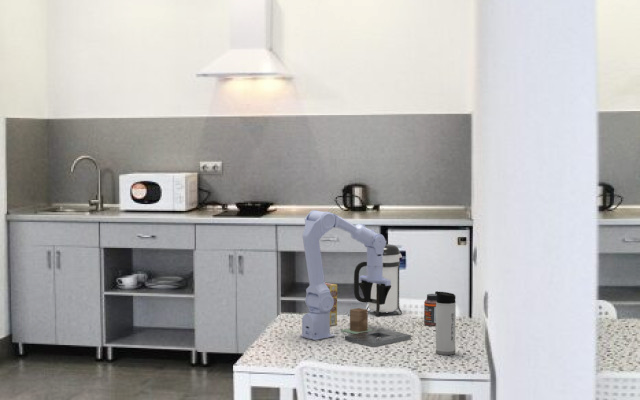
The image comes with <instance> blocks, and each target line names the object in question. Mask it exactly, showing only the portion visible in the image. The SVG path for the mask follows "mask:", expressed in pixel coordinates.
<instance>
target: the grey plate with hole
mask: <svg viewBox="0 0 640 400" xmlns="http://www.w3.org/2000/svg"><path fill="white" fill-rule="evenodd" d="M411 335H412V334H408V333H403V332H398V331H395V330H391V329H386V328H376V329H372V331H367V332H362V333H357V334H351V333H350V334H348V335H347V334H346V335H344V341H347V342H351V343H355V344H359V345H362V346H367V347H372V348H376V347H381V346H386V345H390V344H394V343H400V342H404V341H405V342H406V341H409V340H411V338H412V336H411Z"/></svg>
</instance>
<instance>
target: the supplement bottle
mask: <svg viewBox="0 0 640 400" xmlns="http://www.w3.org/2000/svg"><path fill="white" fill-rule="evenodd" d="M436 296H437V294H435V293H428V294H426V299H425V300H424V301H423V303H424V304H423V305H424V306H423V308H424V309H423V323H424V325H426V326H429V325H431V327H436V326H435V325H436V300H437V299H436Z"/></svg>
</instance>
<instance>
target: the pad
mask: <svg viewBox="0 0 640 400" xmlns="http://www.w3.org/2000/svg"><path fill="white" fill-rule="evenodd" d="M372 330H373V329H371V328H368V331H372ZM340 332H343V333H347V334H350V335H351V334H357V333H362V332H367V331H362V332H355V331H351V330H350V327H349V328H346V329H341V330H340Z"/></svg>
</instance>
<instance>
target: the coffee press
mask: <svg viewBox="0 0 640 400" xmlns="http://www.w3.org/2000/svg"><path fill="white" fill-rule="evenodd" d="M385 241H386V245H385V247H384V252H383V277H384V278H385V279H388V280H391V288H390V290H389V292H388V294H387V297H386V301H385V304H383V305H379V295H378V290H377V287H376V286H378V285H381V284H376V283H373V285H372V289H371V299H370V301H368V302H365V300H364V297H362V296H360V286H359V283H360V281H359V276H360V271H361V269H362V268H364V267H367V261H361V262H360V263H358V264H357V265H356V266H355V269H354V271H353V272H354V273H353V293H354V297H355V299H356V300H357V301H358V302H360V303H366V304H367V303H368V306H367V307H366V308H365V309H366V310H368V309H369V310H368V313H369V312H371V311H372V312H375V317H380V315H381V314H382V313H392V312H394V313H395V314H396V315H397V316H401V315H402V313H403V312H402V310H401V308H400V265H401V264H400V263H401V260H400V258H403V256H402V254H401V250H400V248H399V247H398V246H397V245H394V244H390V243H389V244H388V243H387V242H388V240H387V238H385ZM398 311H399V312H398Z"/></svg>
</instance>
